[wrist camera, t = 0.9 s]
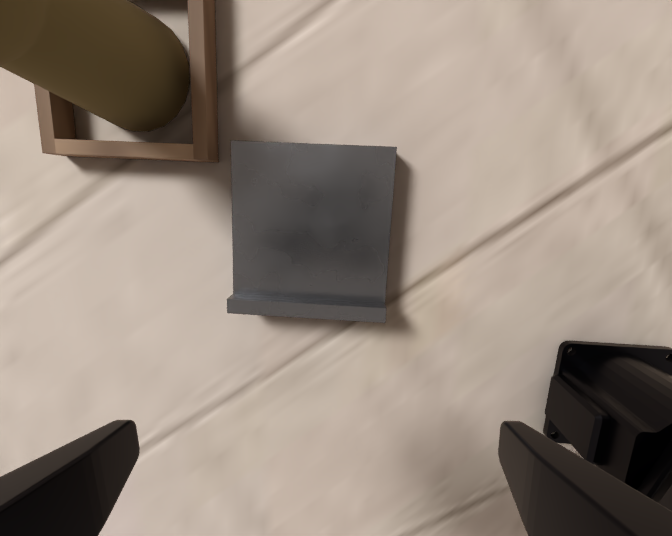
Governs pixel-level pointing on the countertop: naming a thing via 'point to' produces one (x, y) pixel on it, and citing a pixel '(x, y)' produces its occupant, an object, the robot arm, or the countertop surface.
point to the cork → (98, 57)
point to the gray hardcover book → (311, 229)
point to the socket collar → (62, 141)
